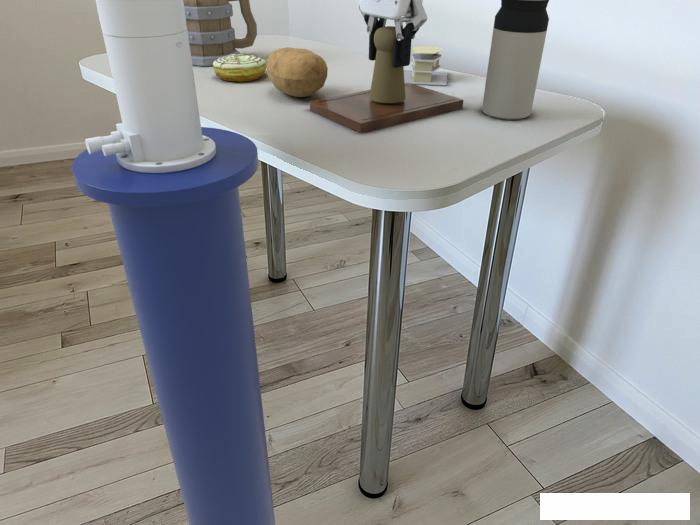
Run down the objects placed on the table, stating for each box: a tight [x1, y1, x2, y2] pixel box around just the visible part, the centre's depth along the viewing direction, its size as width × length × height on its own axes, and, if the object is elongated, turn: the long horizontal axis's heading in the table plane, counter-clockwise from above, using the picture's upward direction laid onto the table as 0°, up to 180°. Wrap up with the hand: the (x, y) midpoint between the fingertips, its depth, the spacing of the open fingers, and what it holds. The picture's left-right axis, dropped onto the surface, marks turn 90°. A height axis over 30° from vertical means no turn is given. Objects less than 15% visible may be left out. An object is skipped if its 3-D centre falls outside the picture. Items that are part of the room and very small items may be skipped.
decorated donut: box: [212, 53, 267, 83], centre depth 108 cm, size 10×11×4 cm
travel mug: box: [481, 0, 550, 121], centre depth 86 cm, size 8×8×18 cm
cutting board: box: [309, 82, 465, 134], centre depth 91 cm, size 22×14×2 cm, turn 127°
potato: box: [266, 47, 329, 98], centre depth 96 cm, size 10×14×8 cm
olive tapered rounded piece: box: [369, 25, 406, 103], centre depth 88 cm, size 6×6×11 cm
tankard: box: [183, 0, 258, 67], centre depth 119 cm, size 20×13×15 cm, turn 114°
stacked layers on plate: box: [404, 46, 448, 86], centre depth 108 cm, size 10×9×6 cm
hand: (388, 61), depth 87 cm, fingers closed on olive tapered rounded piece, 5 cm apart
